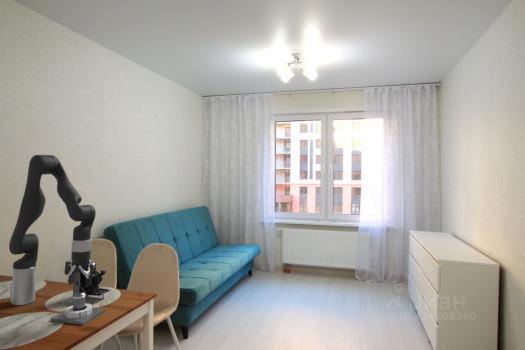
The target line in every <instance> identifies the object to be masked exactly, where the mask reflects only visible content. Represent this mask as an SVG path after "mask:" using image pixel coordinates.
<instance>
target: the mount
mask: <svg viewBox="0 0 525 350" xmlns="http://www.w3.org/2000/svg"><path fill="white" fill-rule="evenodd" d="M105 312H106V309H105V308H98V307H93V305H92V304H91V303H85V309H84V310H81V311H73V304H72V305H71V306H68V307H66V308H65V310H64V311H61V312H60V313H58V314H55V315H54V316H52V317H50V321H51V322H55V323H56V322H58V323H63V324H73V325H79V326H83V325H85V324H87V323H89V322H90V321H92V320H93V319H96V318H97V317H99V316H101V315H102V314H103V313H105Z"/></svg>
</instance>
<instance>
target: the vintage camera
mask: <svg viewBox="0 0 525 350" xmlns="http://www.w3.org/2000/svg"><path fill="white" fill-rule="evenodd" d="M89 262H90V263H94V259H93V258H92V257H91V256H90V260H89ZM89 269H90V268H89ZM86 271H87V270H86ZM106 273H107V271H106V270H104V269H102V270H100V272H99V271H97V270H96V276H94V277H92V279H91V285H90V286H88V287H86V276H85V275H84V274H83V273H81V272H75V274H74V283H73V284H72V287H73V288H72V295H73V294H74V293H76V292H86V296H95V297H101V298H102V300H104V299H105V298H104V295H105V294H107V293H108V292H111V289H109V288H103V287H101V288H100V287H99V285H100V284H101V283H102V281H103V280H104V279H103V276H105V275H106Z"/></svg>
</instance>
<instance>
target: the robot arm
mask: <svg viewBox="0 0 525 350" xmlns="http://www.w3.org/2000/svg"><path fill="white" fill-rule="evenodd" d="M43 175H51V176H53V177H54V178H55V179H56V183H57V184H56V193H57V194H58V197H59V198H60V199H61V201H62V202H63V203H64V204H65V208H66V211H67V213H68V216H69V218H70V219H71V220H72V221H74V222H80V224H79V225H77V226H75V227H74V228H73V231H72V242H71V254H70V256H71V258H70V260H67V261H65V265H64V275H67V277H68V285H73V283H74V274H75V272H81V273H83V274H84V275H85V276H86V287H88V286H90V285H91V279H92V277H94V276H96V271H97V263H96V262H93V263H90V262H89V260H90V257H91V253H92V252H91V251H92V250H91V249H92V242H91V241H92V240H91V237H92V227H93V225H94V222H95V219H96V209H95V207H94V205H92V204H81V202H82V200H83V198H82V196H81V195H80V193H79V192H78V191H77V190H76V188H75V186H74V185H73V184H72V182H71V181H70V178H69V177H68V174H67V173H66V170H65V169H64V167H63V165H62V163H61V161H60V160H59V158H58V157H57V156H55V155H52V154H35V155H33V156H32V157H31V158H30V160H29V163H28V170H27V177H26V184H25V187H24V193H23V196H22V200H21V203H20V207H19V212H18V216H17V220H16V223H15V227H14V229H13V232H12V234H11V237H10V240H9V245H8V246H9V247H8V248H9V249H8V250H9V252H10V253H11V255H23V254H24V255H23V256H21V257H20V258H19V259H17V260H15V261H14V262H13V263H12V282H11V283H10V290H9V291H10V295H9V297H10V298H9V304H11V305H13V306H23V305H27V304H31V303H33V302H35V300H36V280H37V277H36V276H37V261H38V255H39V245H40V242H39V237H38V235H37V234H36V233H27V232H28V230H29V229H30V227H31V226H32V225H34V223H35V222H36V221H37V220H38V219H39V218H41V215H42V214H43V213H44V209H45V205H46V201H47V200H46V197H45V196H46V195H45V194H44V192H43V190H42V187H41V180H42V176H43ZM80 204H81V205H80ZM89 268H90V269H89ZM86 270H87V271H86Z"/></svg>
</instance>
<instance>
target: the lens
mask: <svg viewBox="0 0 525 350" xmlns="http://www.w3.org/2000/svg"><path fill="white" fill-rule="evenodd" d="M86 297H87V295H86V292H76V293H74V294H73V293H72V305H73V311H81V310H84V309H85V304H86Z"/></svg>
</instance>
